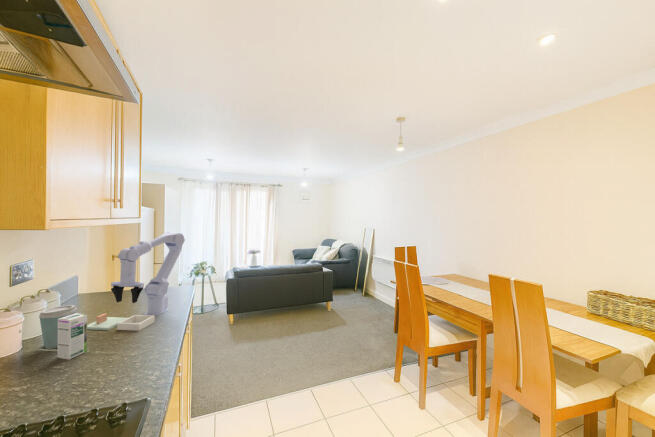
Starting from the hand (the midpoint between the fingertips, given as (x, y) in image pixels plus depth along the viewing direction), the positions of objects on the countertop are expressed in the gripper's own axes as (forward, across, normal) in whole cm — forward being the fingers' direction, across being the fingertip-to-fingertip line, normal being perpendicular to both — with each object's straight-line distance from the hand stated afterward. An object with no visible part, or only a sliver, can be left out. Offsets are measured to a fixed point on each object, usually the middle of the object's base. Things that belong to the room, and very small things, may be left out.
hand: (126, 302), depth 123 cm
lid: (+10, -7, -2) cm, 13 cm away
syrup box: (+11, +2, -28) cm, 30 cm away
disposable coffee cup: (+11, -10, -22) cm, 26 cm away
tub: (+10, +7, -2) cm, 13 cm away
